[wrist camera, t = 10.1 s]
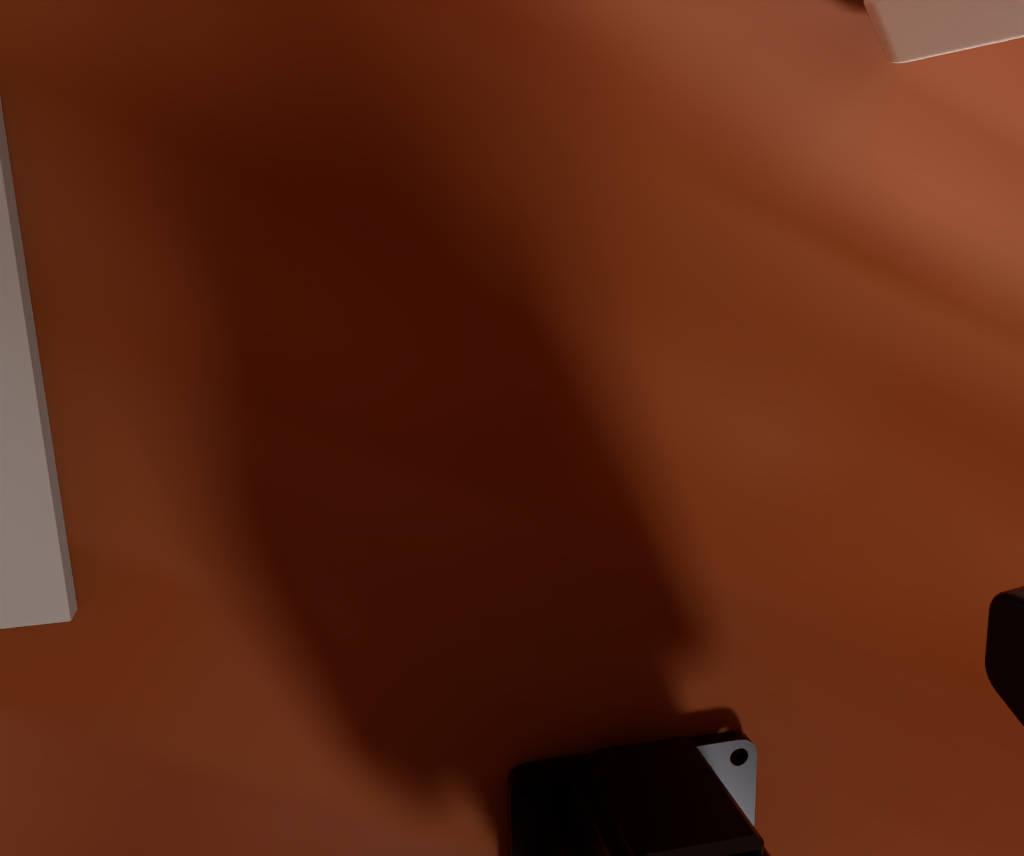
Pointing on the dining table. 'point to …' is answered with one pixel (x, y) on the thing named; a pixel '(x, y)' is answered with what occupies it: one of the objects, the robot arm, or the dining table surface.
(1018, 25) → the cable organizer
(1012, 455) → the dining table surface
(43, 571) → the rubber mat
